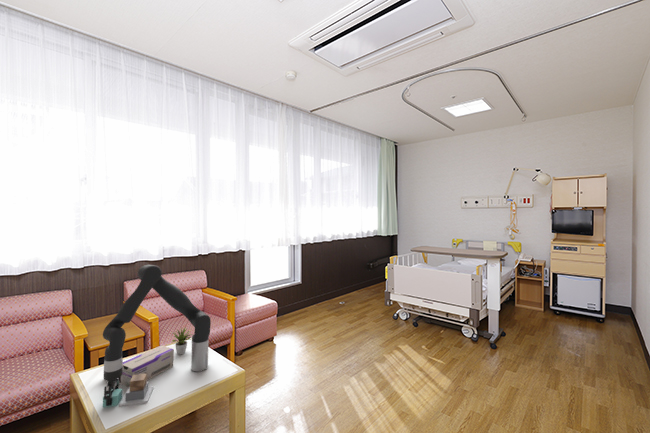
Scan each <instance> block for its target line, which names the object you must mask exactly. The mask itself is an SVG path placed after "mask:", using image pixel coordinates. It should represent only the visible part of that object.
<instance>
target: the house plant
mask: <svg viewBox="0 0 650 433" xmlns="http://www.w3.org/2000/svg"><path fill="white" fill-rule="evenodd" d="M186 327H187V326H185V327H183V329H182V327H181V328H180V331H179V330H178V329H177V330H176V331H173V332H172V334H173V335H174V336H173V337H174V338H176V339H177V340H176V339H173V340H172V343H174V342H176V343H175V344H174V345H175V350H176V354H177V355H183V354H185V353H186V351H187V345H188V342H187V340H190V341H192V336H193V334H192V333H190V332H191V329H190V330H188V328H186ZM187 330H188V331H187ZM186 331H187V332H186ZM176 332H177V333H176ZM189 333H190V334H189Z"/></svg>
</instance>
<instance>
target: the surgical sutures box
mask: <svg viewBox="0 0 650 433" xmlns="http://www.w3.org/2000/svg"><path fill="white" fill-rule="evenodd" d="M174 354H175V350H174V348H171V347H170V346H166V345H163V344H162V345H159V346H156V347H155V348H152V349H150V350H147V351H145V352H143V353H140V354H139V355H137V356H134V357H131V358H129V359H126V360H125V361H123V368H122V376H121V383H120V384H121V385H124V386H125V387H128V388H129V386H130V380H131V379H132V377H133V375H137V374H146V373H147V381H149V380H150V379H152V378H154V377H156V376H158V375H159V374H162V373H163V372H166V371H167V370H170V369H171V368H173V367H174V360H175V359H174V357H175V356H174Z"/></svg>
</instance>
